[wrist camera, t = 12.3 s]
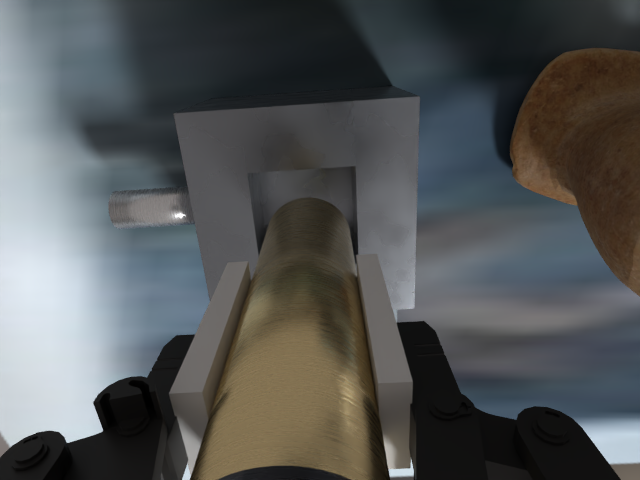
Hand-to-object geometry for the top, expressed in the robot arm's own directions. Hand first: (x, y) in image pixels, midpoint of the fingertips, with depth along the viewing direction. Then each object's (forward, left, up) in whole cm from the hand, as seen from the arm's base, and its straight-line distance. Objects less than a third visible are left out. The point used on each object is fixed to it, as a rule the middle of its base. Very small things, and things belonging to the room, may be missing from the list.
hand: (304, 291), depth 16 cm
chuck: (0, -3, -16) cm, 16 cm away
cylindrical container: (0, 0, -5) cm, 5 cm away
